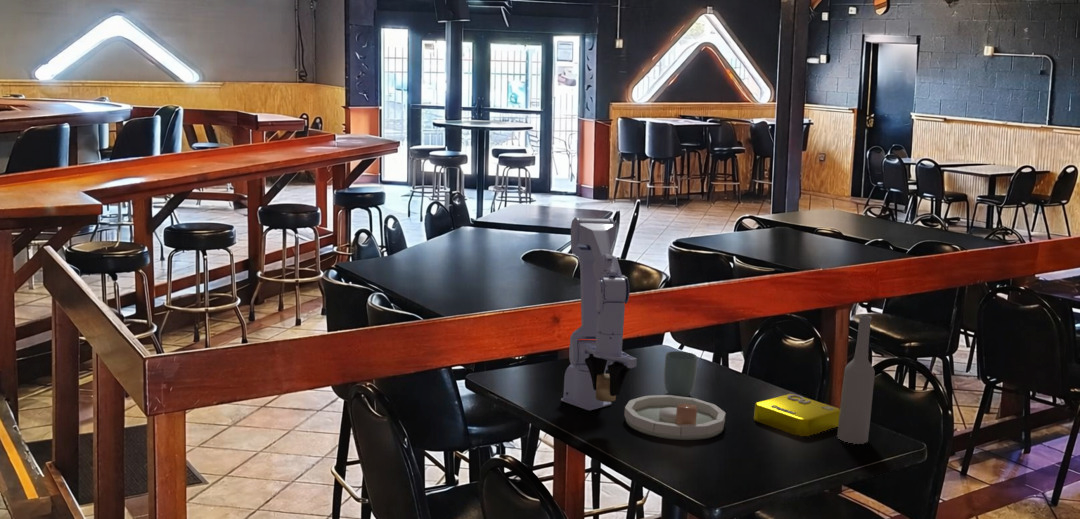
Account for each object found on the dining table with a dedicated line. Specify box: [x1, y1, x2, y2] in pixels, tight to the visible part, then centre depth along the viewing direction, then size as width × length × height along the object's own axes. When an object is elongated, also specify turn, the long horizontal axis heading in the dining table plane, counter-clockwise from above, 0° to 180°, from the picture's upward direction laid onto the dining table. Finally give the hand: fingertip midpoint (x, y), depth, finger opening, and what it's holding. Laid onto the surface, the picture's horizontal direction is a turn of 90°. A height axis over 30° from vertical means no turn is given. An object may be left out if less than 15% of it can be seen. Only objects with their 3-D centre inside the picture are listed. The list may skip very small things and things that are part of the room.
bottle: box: [836, 314, 876, 445], centre depth 229 cm, size 7×7×28 cm
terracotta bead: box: [676, 403, 697, 425], centre depth 230 cm, size 4×4×5 cm
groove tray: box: [623, 394, 726, 441], centre depth 236 cm, size 22×22×3 cm
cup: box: [663, 350, 698, 397], centre depth 257 cm, size 8×8×10 cm
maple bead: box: [596, 373, 617, 403], centre depth 229 cm, size 4×4×5 cm
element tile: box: [753, 393, 840, 437], centre depth 241 cm, size 15×15×5 cm
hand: (606, 392), depth 229 cm, fingers closed on maple bead, 4 cm apart
